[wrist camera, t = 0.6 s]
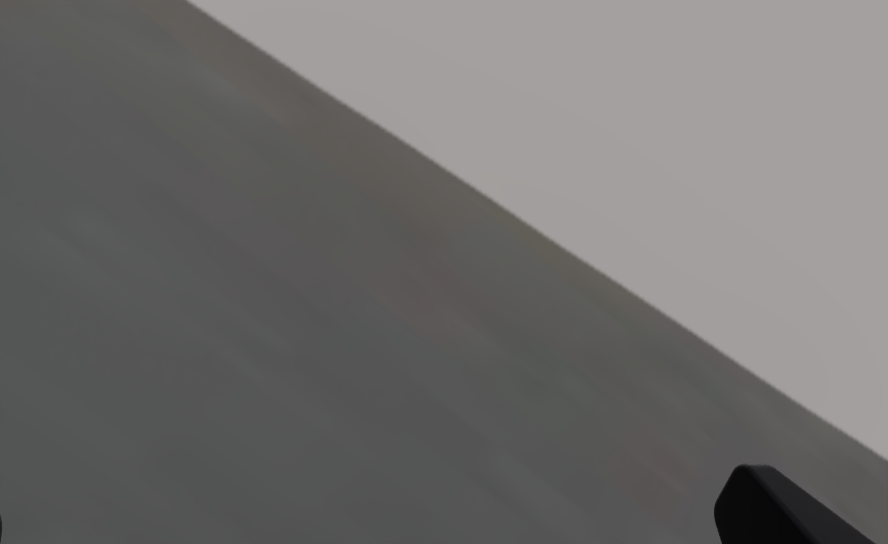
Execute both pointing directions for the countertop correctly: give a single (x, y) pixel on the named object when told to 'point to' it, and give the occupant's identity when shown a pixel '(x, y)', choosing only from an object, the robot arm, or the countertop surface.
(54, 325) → the countertop surface
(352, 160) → the countertop surface
